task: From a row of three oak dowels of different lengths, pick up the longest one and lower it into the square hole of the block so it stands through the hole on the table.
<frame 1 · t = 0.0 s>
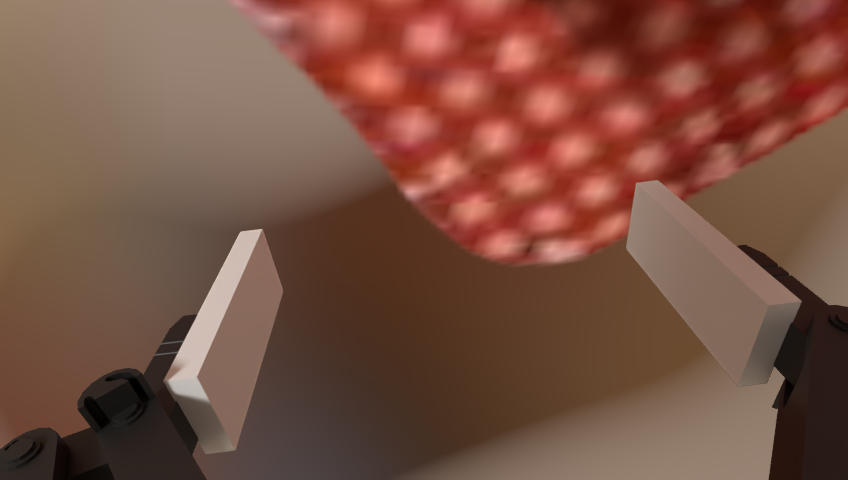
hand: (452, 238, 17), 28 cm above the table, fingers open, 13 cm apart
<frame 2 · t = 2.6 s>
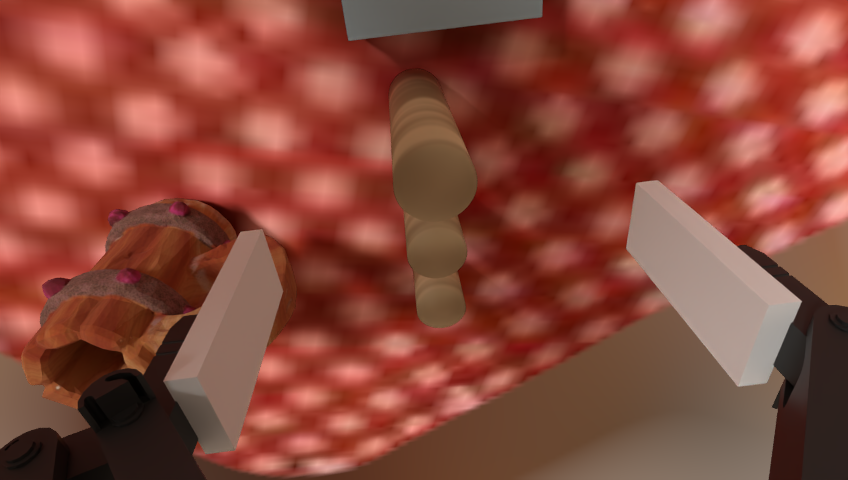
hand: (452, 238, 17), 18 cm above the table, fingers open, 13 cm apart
dowel long: (415, 96, 32), on the table
dowel short: (433, 262, 39), on the table
mug: (220, 224, 36), on the table
dowel medium: (425, 188, 35), on the table
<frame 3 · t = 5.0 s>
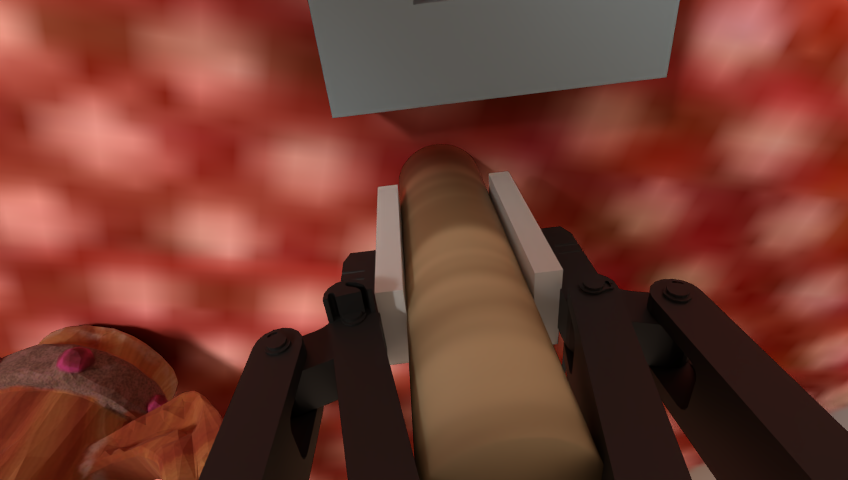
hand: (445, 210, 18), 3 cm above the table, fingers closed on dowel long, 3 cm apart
dowel long: (439, 183, 21), on the table, touching gripper
mug: (155, 353, 25), on the table
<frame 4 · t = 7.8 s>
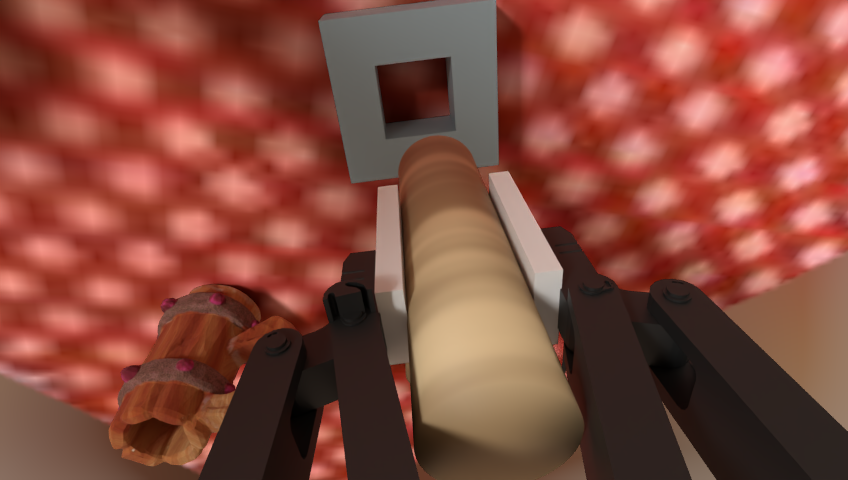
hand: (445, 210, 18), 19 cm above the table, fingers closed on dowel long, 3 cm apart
dowel long: (437, 172, 22), point 15 cm above the table, touching gripper
hole block: (414, 86, 35), on the table
mug: (247, 301, 44), on the table
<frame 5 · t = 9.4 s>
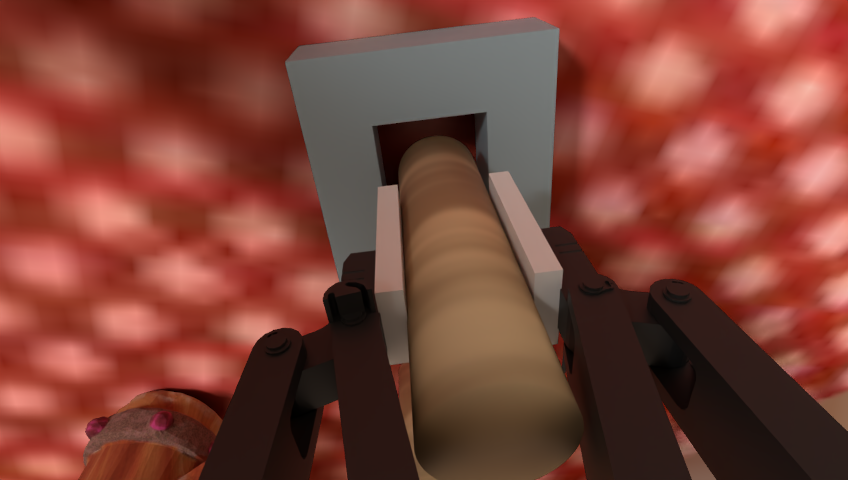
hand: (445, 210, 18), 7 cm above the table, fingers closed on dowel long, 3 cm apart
dowel long: (437, 172, 22), point 3 cm above the table, touching gripper
hole block: (428, 144, 24), on the table
mug: (207, 406, 34), on the table
dowel medium: (423, 371, 34), on the table
when the fingers open (5 cm above the table, at t = 10.8 s): dowel long stays where it is, resting in hole block.
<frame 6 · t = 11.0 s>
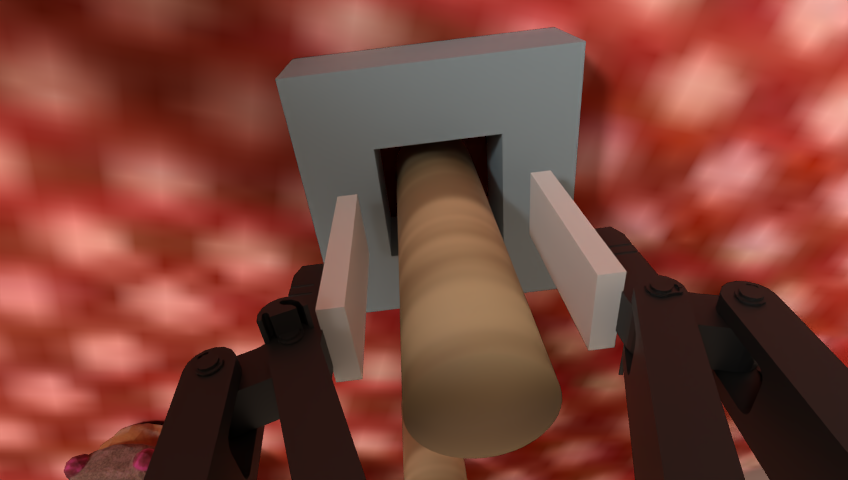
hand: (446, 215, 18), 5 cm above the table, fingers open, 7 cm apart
dowel long: (433, 165, 22), resting in hole block
hole block: (435, 165, 22), on the table
mug: (198, 439, 32), on the table
dowel medium: (428, 403, 31), on the table
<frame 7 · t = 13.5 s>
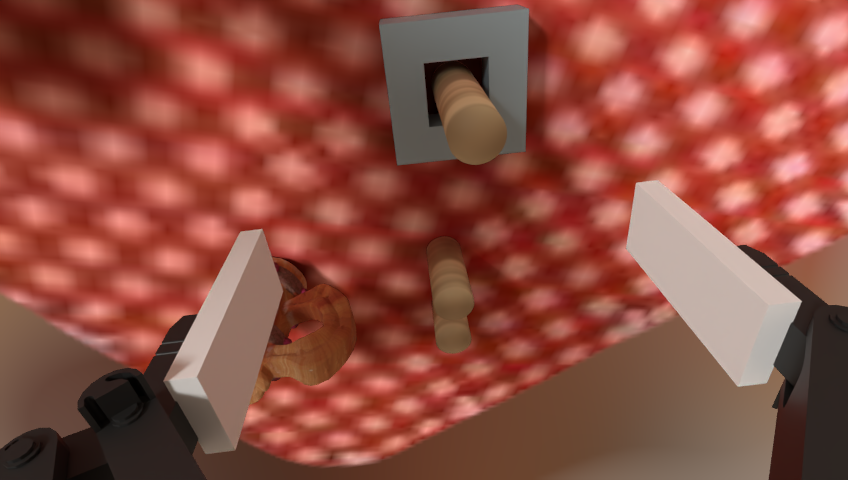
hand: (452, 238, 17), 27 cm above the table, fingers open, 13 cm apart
dowel long: (452, 83, 40), resting in hole block
dowel short: (447, 303, 52), on the table
hole block: (453, 82, 40), on the table
mug: (294, 273, 49), on the table
dowel medium: (443, 251, 49), on the table
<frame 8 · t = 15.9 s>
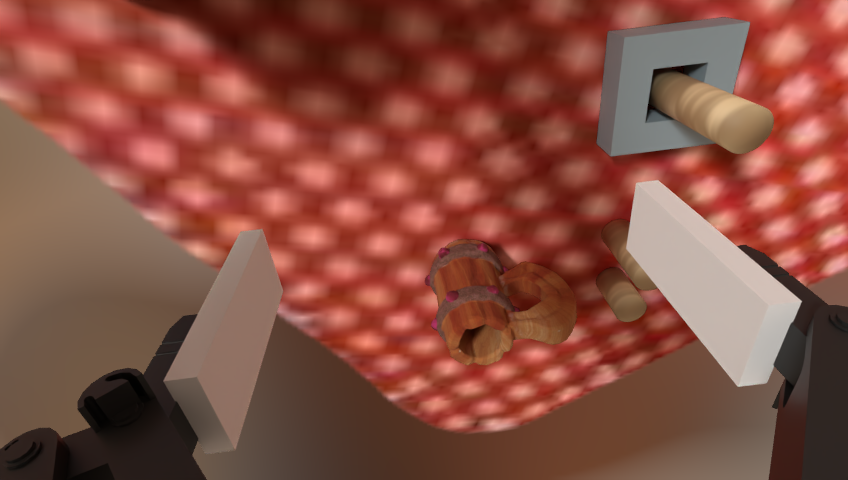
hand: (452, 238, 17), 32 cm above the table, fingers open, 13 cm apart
dowel long: (655, 84, 46), resting in hole block
dowel short: (609, 279, 59), on the table
hole block: (656, 84, 46), on the table
mug: (482, 254, 56), on the table
dowel medium: (616, 232, 55), on the table
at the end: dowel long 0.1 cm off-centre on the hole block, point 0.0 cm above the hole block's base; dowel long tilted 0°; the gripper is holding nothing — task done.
